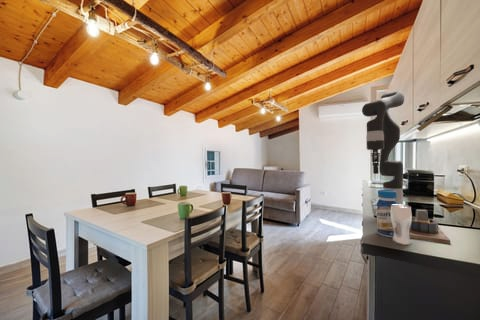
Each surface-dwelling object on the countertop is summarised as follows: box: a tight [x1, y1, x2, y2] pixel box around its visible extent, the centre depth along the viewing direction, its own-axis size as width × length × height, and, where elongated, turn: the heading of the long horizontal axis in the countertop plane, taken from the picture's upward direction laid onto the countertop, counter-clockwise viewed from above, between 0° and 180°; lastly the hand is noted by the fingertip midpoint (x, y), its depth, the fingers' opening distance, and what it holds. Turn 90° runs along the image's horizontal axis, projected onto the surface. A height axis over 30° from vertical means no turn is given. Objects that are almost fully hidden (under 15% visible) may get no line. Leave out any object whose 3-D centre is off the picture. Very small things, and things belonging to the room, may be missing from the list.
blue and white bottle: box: [375, 189, 398, 238], centre depth 91 cm, size 8×8×20 cm
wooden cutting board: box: [410, 226, 451, 245], centre depth 92 cm, size 20×14×2 cm
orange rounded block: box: [415, 209, 430, 223], centre depth 91 cm, size 5×5×9 cm
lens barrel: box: [410, 216, 439, 234], centre depth 92 cm, size 10×10×4 cm
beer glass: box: [390, 204, 413, 246], centre depth 82 cm, size 7×7×15 cm
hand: (375, 173), depth 103 cm, fingers closed
